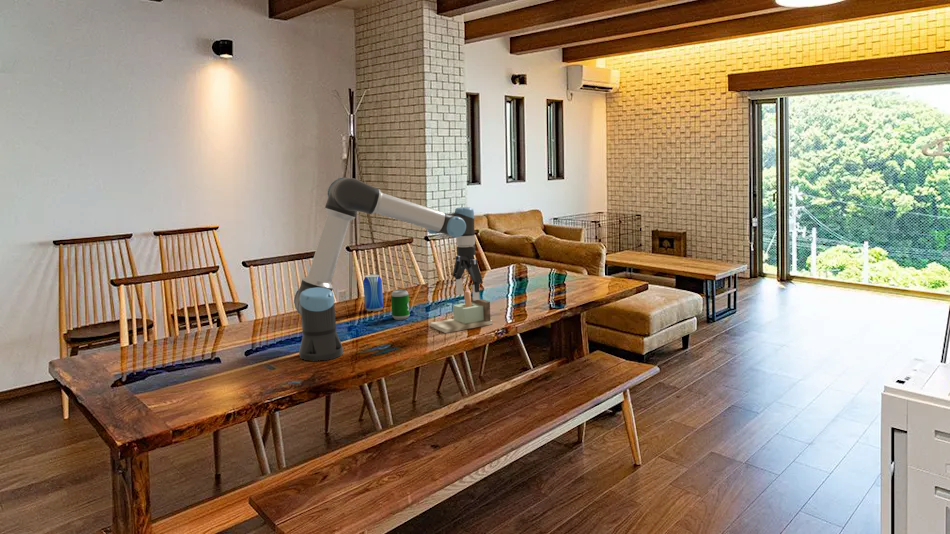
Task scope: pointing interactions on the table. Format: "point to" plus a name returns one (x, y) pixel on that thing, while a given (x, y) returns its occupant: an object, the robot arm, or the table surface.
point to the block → (468, 313)
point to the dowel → (467, 298)
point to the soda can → (400, 304)
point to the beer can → (373, 293)
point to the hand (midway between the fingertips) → (467, 297)
